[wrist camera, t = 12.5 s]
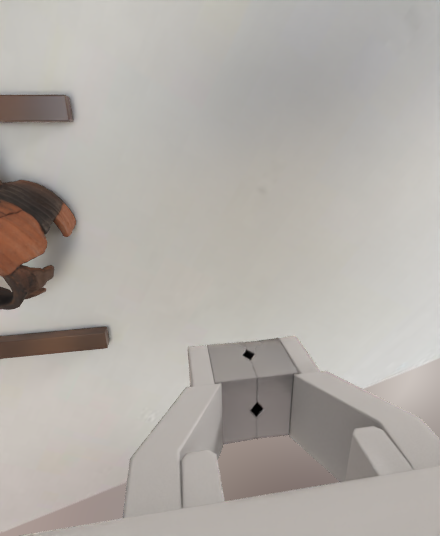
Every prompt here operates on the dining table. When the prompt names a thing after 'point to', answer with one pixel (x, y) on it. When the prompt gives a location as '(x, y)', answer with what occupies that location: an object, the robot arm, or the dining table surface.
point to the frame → (57, 341)
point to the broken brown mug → (27, 237)
